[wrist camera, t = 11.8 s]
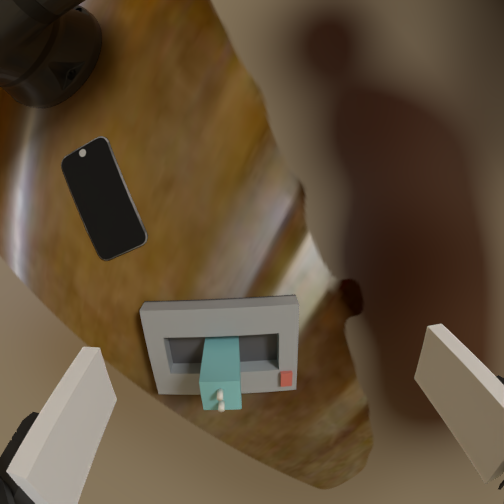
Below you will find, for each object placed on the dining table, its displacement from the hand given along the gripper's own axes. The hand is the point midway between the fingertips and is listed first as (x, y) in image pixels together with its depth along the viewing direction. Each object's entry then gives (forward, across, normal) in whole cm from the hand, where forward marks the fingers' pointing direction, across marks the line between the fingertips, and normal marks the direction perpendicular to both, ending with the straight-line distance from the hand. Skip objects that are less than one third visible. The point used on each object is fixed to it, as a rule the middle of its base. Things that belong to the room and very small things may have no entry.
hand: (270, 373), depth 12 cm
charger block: (+28, -4, -18) cm, 34 cm away
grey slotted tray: (+29, -4, -17) cm, 34 cm away
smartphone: (+29, -18, +4) cm, 35 cm away
